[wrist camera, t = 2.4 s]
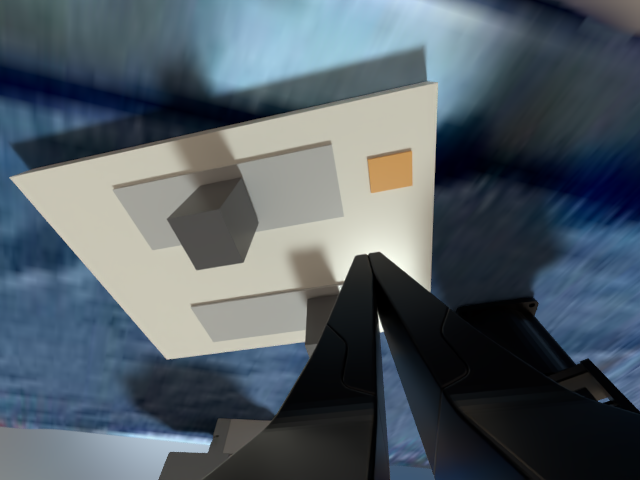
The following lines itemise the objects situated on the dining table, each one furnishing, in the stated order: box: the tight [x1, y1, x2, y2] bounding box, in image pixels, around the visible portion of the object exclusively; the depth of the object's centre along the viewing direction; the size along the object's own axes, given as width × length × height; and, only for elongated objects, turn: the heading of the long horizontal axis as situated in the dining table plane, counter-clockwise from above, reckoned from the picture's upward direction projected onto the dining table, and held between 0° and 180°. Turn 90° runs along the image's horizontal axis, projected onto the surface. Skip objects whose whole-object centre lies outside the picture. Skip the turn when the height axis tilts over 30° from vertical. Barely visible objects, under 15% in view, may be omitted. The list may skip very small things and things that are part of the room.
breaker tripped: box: [167, 177, 259, 270], centre depth 14 cm, size 2×3×4 cm
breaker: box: [305, 294, 339, 357], centre depth 19 cm, size 2×3×4 cm
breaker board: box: [10, 81, 438, 359], centre depth 19 cm, size 24×18×2 cm
